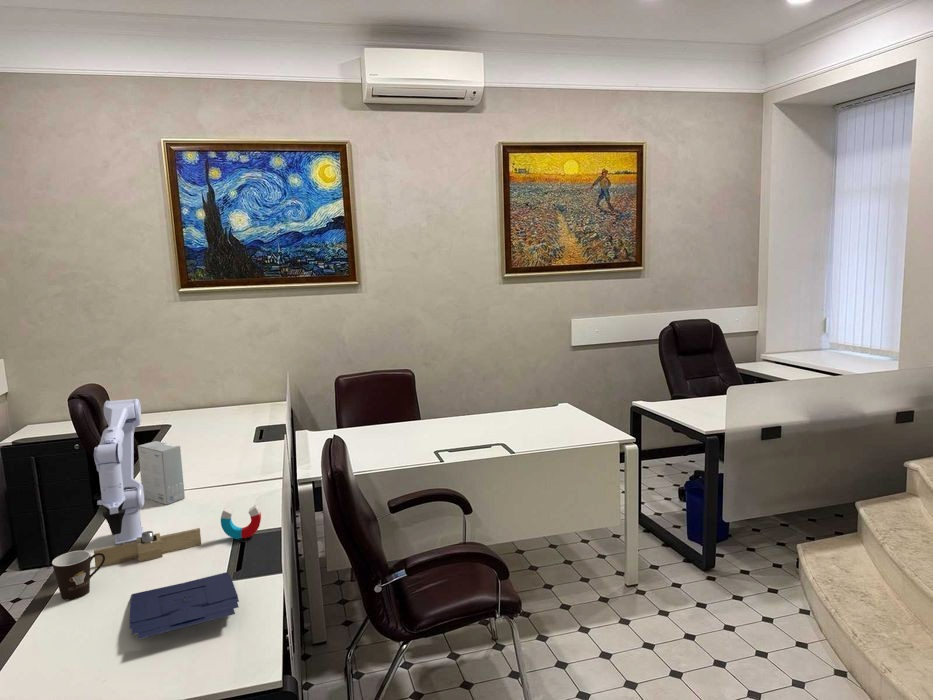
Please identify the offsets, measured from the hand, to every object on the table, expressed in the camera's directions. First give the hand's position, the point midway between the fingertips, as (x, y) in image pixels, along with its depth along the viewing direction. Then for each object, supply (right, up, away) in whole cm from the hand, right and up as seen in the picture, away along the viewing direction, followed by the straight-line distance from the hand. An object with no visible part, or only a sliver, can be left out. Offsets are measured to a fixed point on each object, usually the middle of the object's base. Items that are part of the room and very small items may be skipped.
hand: (116, 528), depth 185 cm
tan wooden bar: (+8, -9, +4) cm, 13 cm away
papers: (+32, -13, -26) cm, 43 cm away
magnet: (+32, -7, +14) cm, 36 cm away
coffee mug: (0, -12, -17) cm, 21 cm away
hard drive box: (-9, -2, +48) cm, 49 cm away
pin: (+8, -9, +3) cm, 12 cm away
